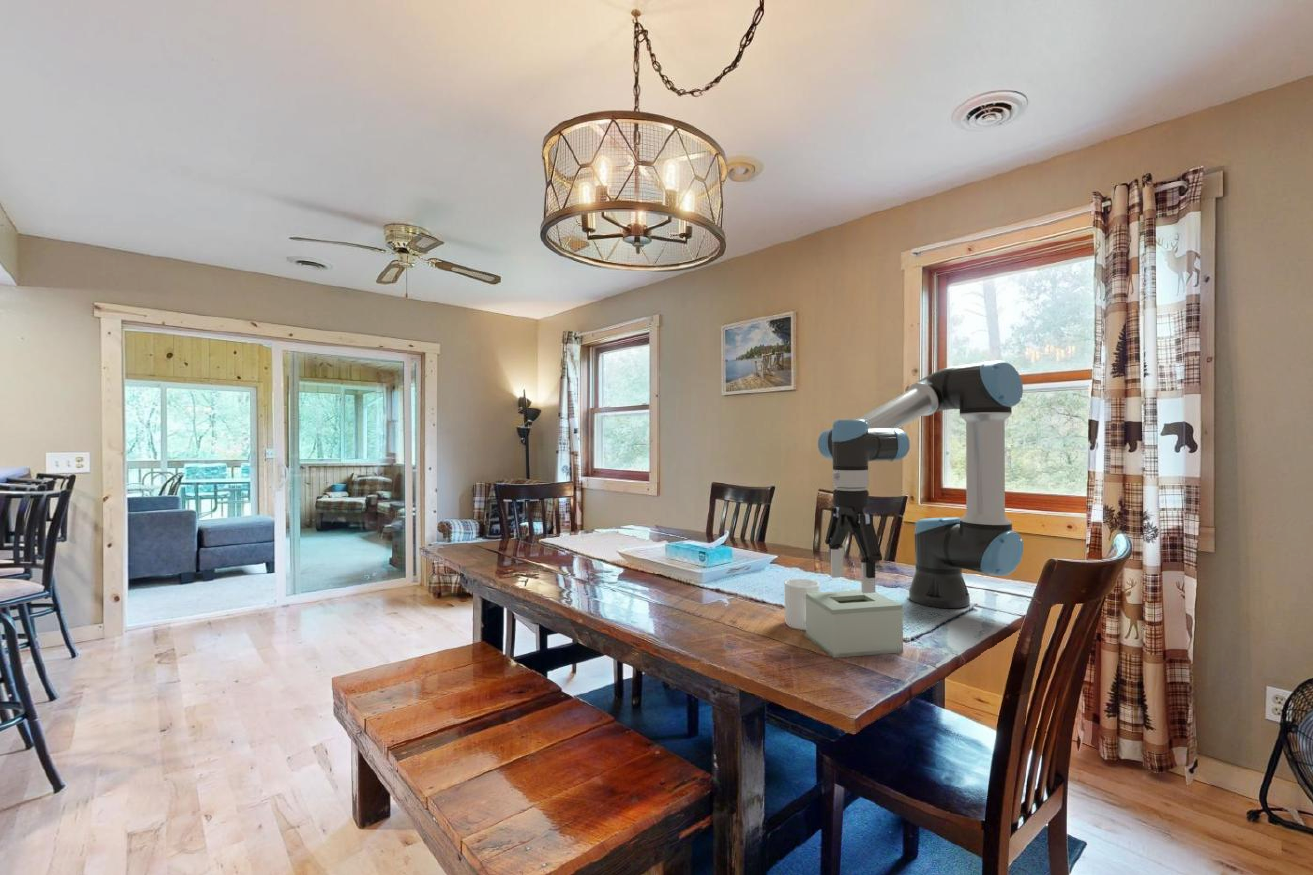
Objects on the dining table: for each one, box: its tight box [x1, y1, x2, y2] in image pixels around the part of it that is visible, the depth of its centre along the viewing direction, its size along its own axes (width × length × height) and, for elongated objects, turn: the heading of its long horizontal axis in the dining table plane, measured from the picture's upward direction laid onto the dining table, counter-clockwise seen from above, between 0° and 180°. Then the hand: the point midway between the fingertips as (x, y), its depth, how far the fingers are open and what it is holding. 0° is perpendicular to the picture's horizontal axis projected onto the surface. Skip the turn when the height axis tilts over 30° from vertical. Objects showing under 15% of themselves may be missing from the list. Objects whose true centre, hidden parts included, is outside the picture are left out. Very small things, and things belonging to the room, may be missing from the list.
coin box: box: [805, 589, 904, 659], centre depth 126 cm, size 16×13×10 cm
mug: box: [784, 578, 820, 631], centre depth 137 cm, size 12×8×10 cm
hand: (852, 584), depth 126 cm, fingers open, 13 cm apart
